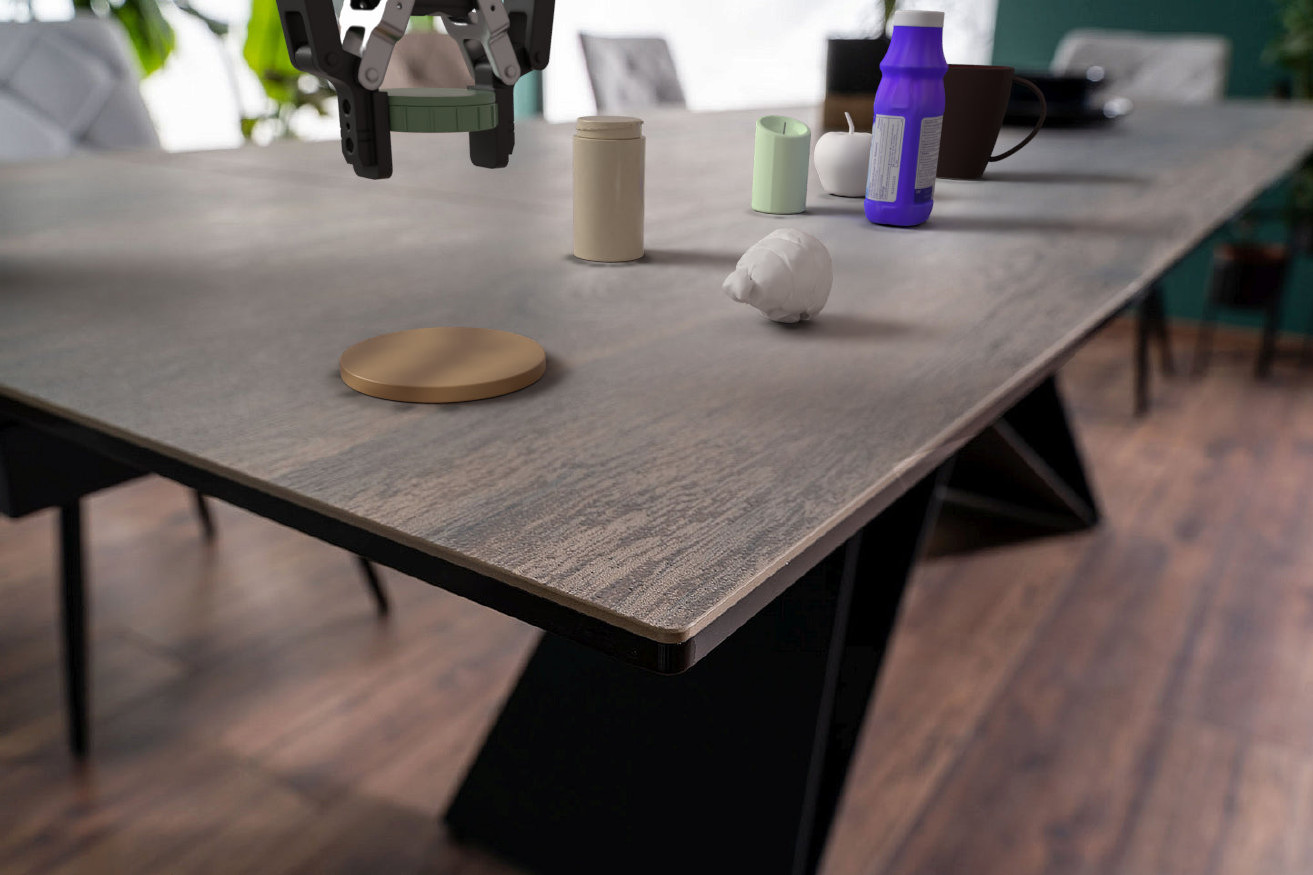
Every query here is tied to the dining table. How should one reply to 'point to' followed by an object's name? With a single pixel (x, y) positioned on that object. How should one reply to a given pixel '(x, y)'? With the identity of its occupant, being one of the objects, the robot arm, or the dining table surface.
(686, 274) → the dining table surface
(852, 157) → the plain white apple
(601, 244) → the jar
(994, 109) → the cup
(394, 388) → the coaster
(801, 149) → the candle
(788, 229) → the garlic bulb
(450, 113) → the lid
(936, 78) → the bottle
